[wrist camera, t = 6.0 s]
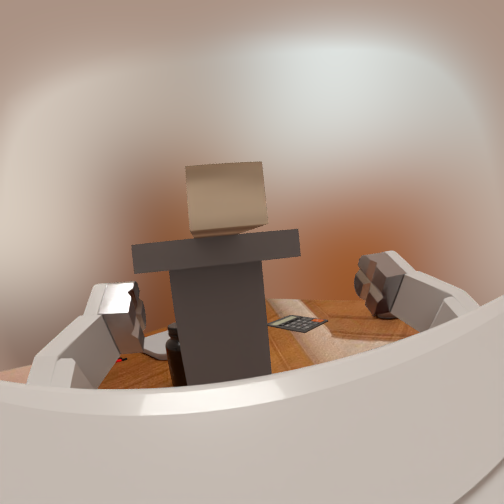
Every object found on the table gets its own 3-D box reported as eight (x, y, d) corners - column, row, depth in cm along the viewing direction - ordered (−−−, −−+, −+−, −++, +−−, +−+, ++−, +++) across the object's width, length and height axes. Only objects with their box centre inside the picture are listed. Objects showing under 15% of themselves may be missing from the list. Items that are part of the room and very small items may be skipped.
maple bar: (268, 223, 11) (261, 161, 11) (189, 231, 10) (185, 166, 10) (222, 239, 33) (220, 217, 32) (196, 242, 32) (194, 220, 32)
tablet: (237, 334, 79) (236, 326, 79) (163, 364, 59) (161, 355, 59) (200, 327, 90) (199, 320, 90) (131, 349, 69) (130, 341, 69)
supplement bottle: (201, 392, 45) (191, 330, 45) (167, 389, 46) (155, 330, 46) (211, 375, 52) (203, 319, 52) (180, 374, 53) (170, 319, 52)
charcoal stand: (308, 482, 21) (298, 228, 21) (194, 502, 19) (131, 245, 18) (275, 419, 35) (258, 236, 34) (191, 431, 33) (158, 246, 32)
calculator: (304, 331, 73) (265, 323, 84) (304, 334, 73) (265, 326, 84) (328, 319, 81) (290, 314, 92) (328, 322, 81) (290, 317, 92)
